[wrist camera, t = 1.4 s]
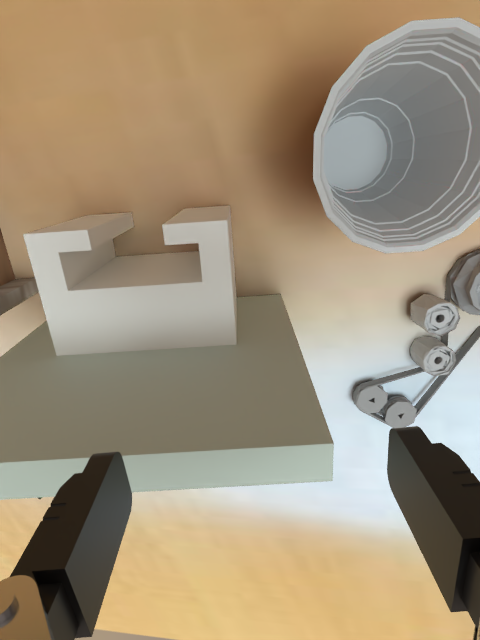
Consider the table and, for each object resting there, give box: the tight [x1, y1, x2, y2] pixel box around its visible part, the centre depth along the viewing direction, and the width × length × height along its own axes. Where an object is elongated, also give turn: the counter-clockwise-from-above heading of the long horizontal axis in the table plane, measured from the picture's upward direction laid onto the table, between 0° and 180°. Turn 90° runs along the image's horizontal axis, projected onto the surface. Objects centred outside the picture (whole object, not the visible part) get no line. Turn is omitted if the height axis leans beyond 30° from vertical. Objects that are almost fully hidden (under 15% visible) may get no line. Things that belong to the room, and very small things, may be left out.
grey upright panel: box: [0, 205, 334, 500], centre depth 24 cm, size 10×20×20 cm, turn 94°
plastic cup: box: [313, 18, 480, 253], centre depth 24 cm, size 11×11×12 cm
